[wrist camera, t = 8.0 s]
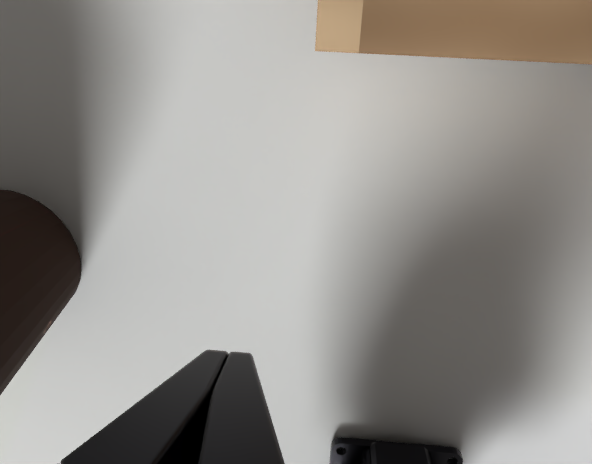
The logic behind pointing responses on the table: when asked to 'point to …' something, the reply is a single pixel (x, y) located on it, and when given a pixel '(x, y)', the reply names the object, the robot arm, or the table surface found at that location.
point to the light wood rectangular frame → (459, 29)
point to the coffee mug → (31, 277)
